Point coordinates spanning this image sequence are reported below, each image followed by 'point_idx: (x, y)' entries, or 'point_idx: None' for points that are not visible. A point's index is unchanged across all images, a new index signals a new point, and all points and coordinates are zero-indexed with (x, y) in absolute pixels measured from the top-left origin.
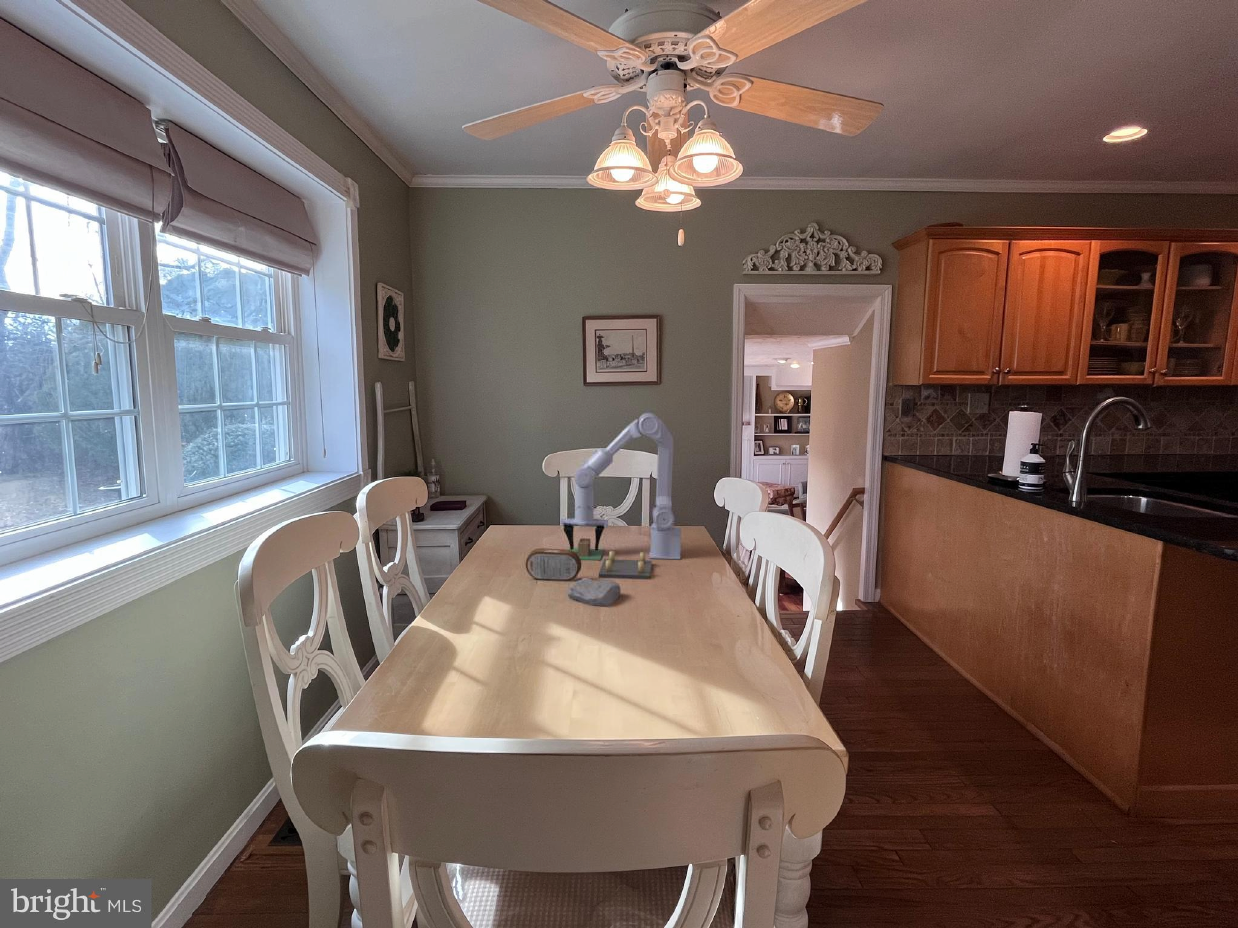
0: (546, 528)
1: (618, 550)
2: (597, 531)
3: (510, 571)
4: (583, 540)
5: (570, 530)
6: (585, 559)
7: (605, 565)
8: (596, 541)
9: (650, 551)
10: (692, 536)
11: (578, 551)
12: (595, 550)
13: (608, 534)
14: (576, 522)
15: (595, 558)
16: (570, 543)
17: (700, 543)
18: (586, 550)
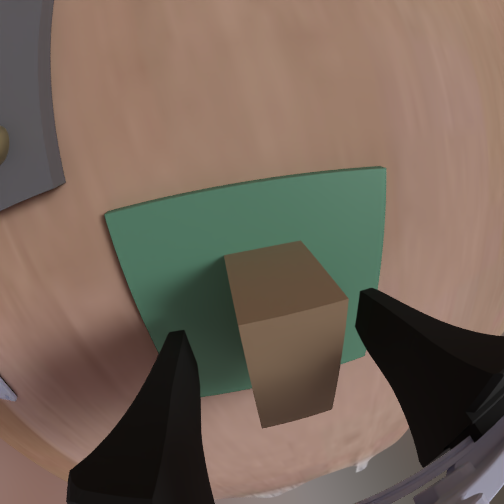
0: (402, 434)
1: (119, 403)
2: (121, 483)
3: (485, 4)
4: (307, 386)
5: (491, 369)
6: (223, 187)
7: (18, 44)
8: (163, 385)
9: (1, 385)
10: (52, 469)
11: (311, 257)
12: (219, 375)
13: (243, 477)
14: (489, 489)
15: (147, 227)
16: (400, 307)
17: (3, 438)
18: (242, 279)
